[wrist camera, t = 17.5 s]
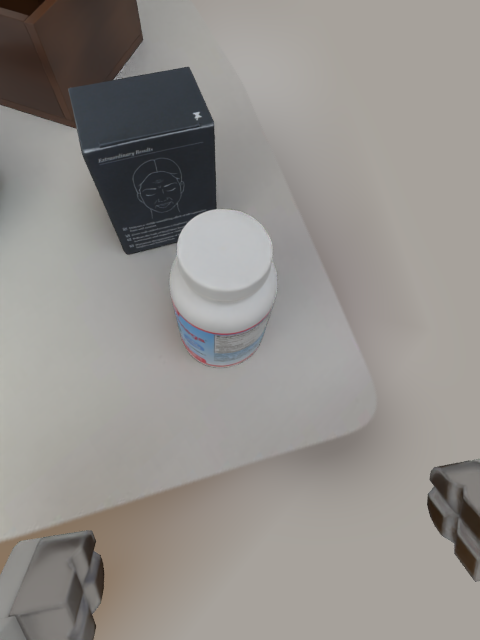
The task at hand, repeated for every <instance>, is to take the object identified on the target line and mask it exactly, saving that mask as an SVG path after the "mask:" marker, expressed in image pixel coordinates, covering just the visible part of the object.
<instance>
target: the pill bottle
mask: <svg viewBox="0 0 480 640" xmlns="http://www.w3.org/2000/svg"><path fill="white" fill-rule="evenodd" d="M272 258H273V246H272V242H271V238H270V236H269V234H268V233H267V231H266V230H265V228H264V227H263V226H262V225H261V224H260V223H259V222H258V221H257V220H256V219H254V218H253V217H251V216H250V215H248V214H245V213H243V212H240V211H237V210H231V209H215V210H210V211H207V212H204V213H201V214H199V215H197V216H196V217H194V218H193V219H192V220H190V221H189V222H188V223H187V224H186V225H185V227H184V228H183V230H182V231H181V233H180V235H179V238H178V242H177V256H176V258H175V260H174V262H173V265H172V267H171V271H170V277H169V287H170V294H171V298H172V302H173V306H174V310H175V314H176V318H177V322H178V326H179V330H180V334H181V338H182V341H183V344H184V346H185V348H186V349H187V351H188V352H189V353H190V354H191V356H192V357H194V358H195V359H196V360H197V361H199V362H200V363H202V364H204V365H207V366H210V367H215V368H225V367H231V366H234V365H237V364H239V363H242V362H243V361H245V360H247V359H248V358H249V357H251V356H252V355H253V354H254V352H255V351H256V350H257V348H258V347H259V345H260V343H261V340H262V337H263V334H264V331H265V328H266V325H267V322H268V319H269V316H270V313H271V310H272V307H273V304H274V301H275V298H276V294H277V289H278V277H277V272H276V268H275V265H274V263H273V261H272Z"/></svg>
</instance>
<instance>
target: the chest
mask: <svg viewBox="0 0 480 640" xmlns="http://www.w3.org/2000/svg"><path fill="white" fill-rule="evenodd" d="M142 41H143V36H142V31H141V25H140V19H139V13H138V8H137V2H136V0H0V104H1V105H4V106H7V107H10V108H14V109H17V110H20V111H23V112H26V113H29V114H33V115H36V116H39V117H42V118H45V119H48V120H52V121H55V122H58V123H61V124H64V125H67V126H71V127H74V128H77V127H76V122H75V118H74V113H73V108H72V104H71V99H70V95H69V91H68V89H69V88H73V87H78V86H84V85H90V84H95V83H101V82H106V81H112V80H113V79H114V78H115V76H116V75H117V74H118V72H119V71H120V70H121V68H122V67H123V66H124V64H125V63H126V62H127V60H128V59H129V58H130V56H131V55H132V54H133V53H134V51H135V50H136V49H137V47H138V46H139V45H140V43H141V42H142Z"/></svg>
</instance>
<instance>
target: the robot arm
mask: <svg viewBox="0 0 480 640" xmlns="http://www.w3.org/2000/svg"><path fill="white" fill-rule="evenodd" d="M430 481H431V482H432V484H433V485H434V487H433V488H432V490H431V491H430V492H429V493H428V502H427V505H428V510H429V513H430V517H431V519H432V521H433V523H434V525H435V527H436V528H437V530H438V531H439V532H440V534H441V535H442V536H443V537H445V538H447V539H448V540H450V541H451V542H453V543H454V552H455V555H456V556H457V558H458V559H459V560H460V562H461V563H462V565H463V566H464V567H465V569H466V570H467V571H468V573H469V574H470V576H471V577H472V578H473V580H474V581H475V582H477V581H480V459H476V460H472V461H464V462H460V463H455V464H449V465H444V466H439V467H434V468H433V470H432V471H431V473H430ZM95 543H96V540H95V538H94V535H93V532H92V531H89V530H87V531H81V532H74V533H67V534H61V535H54V536H48V537H43V538H37V539H32V540H24V541H20V542H19V543H18V544H17V545H16V546H15V547H14V548H13V550H12V552H11V554H10V556H9V558H8V560H7V562H6V564H5V566H4V568H3V571H2V573H1V575H0V640H93V639H94V634H95V629H96V624H95V622H94V619H93V616H92V614H93V613H94V612H95V610H96V609H97V608H98V606H99V605H100V604H101V599H102V595H103V589H104V568H103V562H102V558H101V555H99V554H98V553H96V552H94V547H95Z"/></svg>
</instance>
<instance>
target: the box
mask: <svg viewBox="0 0 480 640" xmlns="http://www.w3.org/2000/svg"><path fill="white" fill-rule="evenodd" d="M68 91H69V95H70V99H71V104H72V108H73V113H74V118H75V122H76V127H77V132H78V136H79V141H80V146H81V151H82V155H83V157H84V160H85V162H86V165H87V167H88V169H89V172H90V174H91V176H92V178H93V181H94V183H95V185H96V187H97V189H98V192H99V194H100V197H101V199H102V201H103V203H104V206H105V208H106V210H107V213H108V215H109V217H110V220H111V222H112V224H113V227H114V229H115V231H116V233H117V235H118V237H119V240H120V242H121V245H122V247H123V250H124V251H125V253H126V254H132V253H136V252H139V251H143V250H147V249H151V248H155V247H159V246H163V245H167V244H171V243H175V242H178V238H179V235H180V233H181V231H182V230H183V228H184V227H185V225H186V224H187V223H188V222H189V221H190V220H192V219H193V218H194V217H196V216H197V215H199V214H201V213H204V212H207V211H210V210H215V209H217V206H216V172H215V135H214V121H213V119H212V117H211V114H210V112H209V110H208V108H207V106H206V103H205V101H204V99H203V96H202V94H201V92H200V90H199V87H198V85H197V83H196V80H195V78H194V76H193V74H192V72H191V70H190V68H189V67H184V68H179V69H173V70H168V71H162V72H157V73H151V74H145V75H140V76H134V77H129V78H123V79H118V80H112V81H106V82H101V83H95V84H90V85H84V86H78V87H73V88H69V89H68Z"/></svg>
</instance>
